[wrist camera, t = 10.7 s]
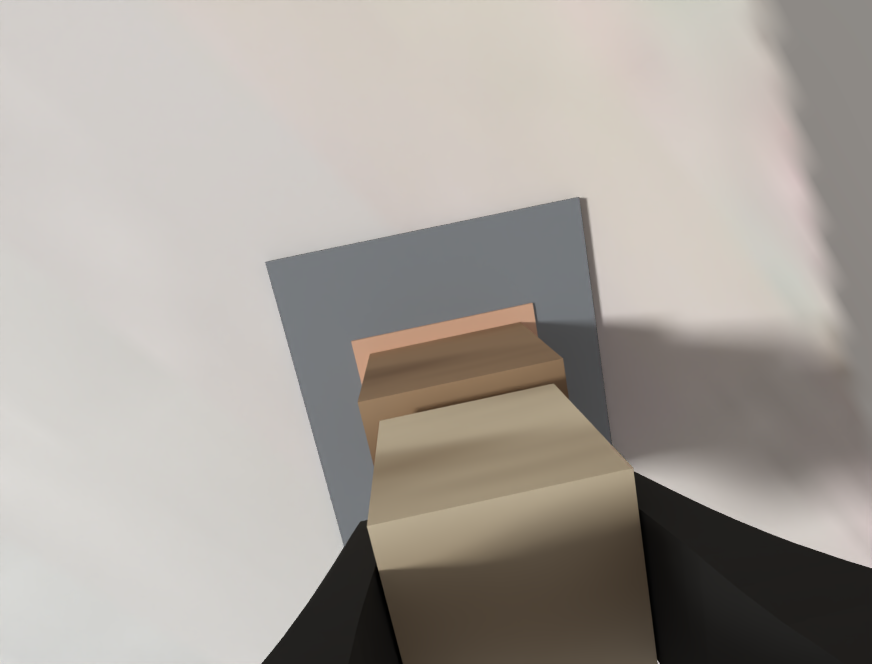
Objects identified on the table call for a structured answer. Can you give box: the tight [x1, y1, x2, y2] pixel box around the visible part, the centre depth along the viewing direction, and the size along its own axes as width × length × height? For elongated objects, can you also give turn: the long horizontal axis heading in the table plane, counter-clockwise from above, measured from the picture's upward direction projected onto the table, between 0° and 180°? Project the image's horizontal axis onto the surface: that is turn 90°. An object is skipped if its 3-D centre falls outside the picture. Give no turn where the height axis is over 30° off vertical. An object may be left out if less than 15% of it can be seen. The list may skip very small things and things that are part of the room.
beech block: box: [367, 384, 658, 664], centre depth 10 cm, size 4×4×4 cm
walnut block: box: [358, 322, 569, 465], centre depth 15 cm, size 5×5×4 cm
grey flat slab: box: [265, 197, 612, 546], centre depth 17 cm, size 12×10×1 cm
